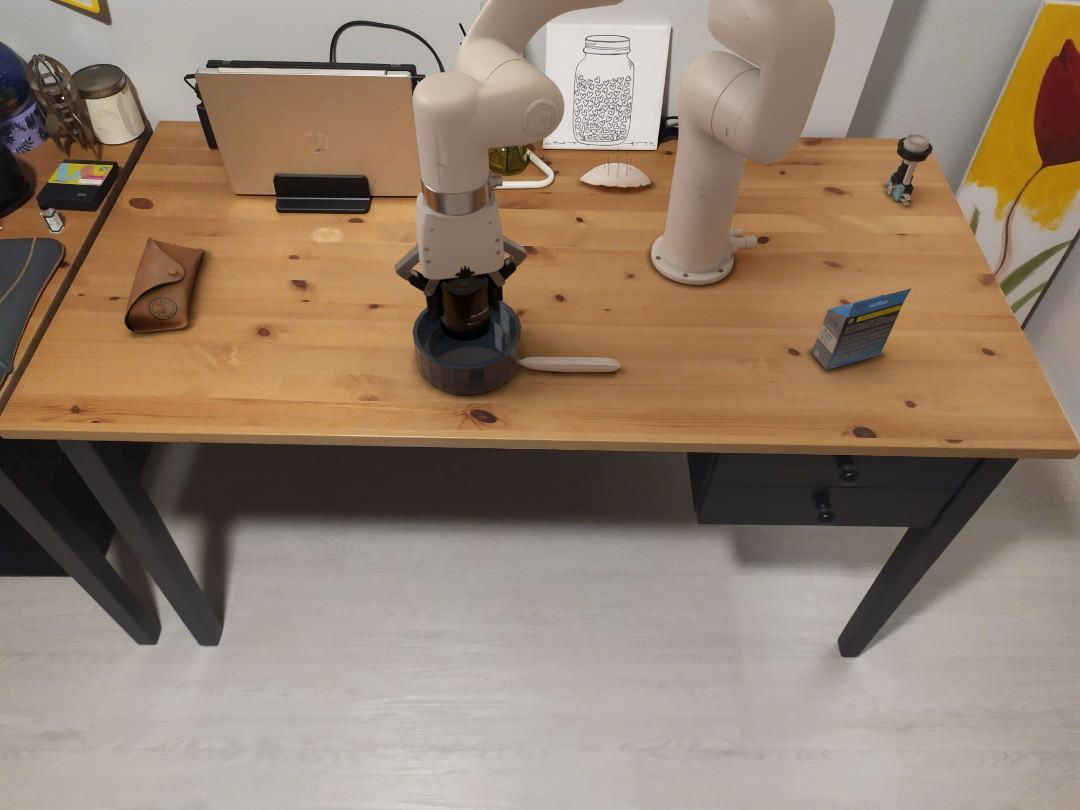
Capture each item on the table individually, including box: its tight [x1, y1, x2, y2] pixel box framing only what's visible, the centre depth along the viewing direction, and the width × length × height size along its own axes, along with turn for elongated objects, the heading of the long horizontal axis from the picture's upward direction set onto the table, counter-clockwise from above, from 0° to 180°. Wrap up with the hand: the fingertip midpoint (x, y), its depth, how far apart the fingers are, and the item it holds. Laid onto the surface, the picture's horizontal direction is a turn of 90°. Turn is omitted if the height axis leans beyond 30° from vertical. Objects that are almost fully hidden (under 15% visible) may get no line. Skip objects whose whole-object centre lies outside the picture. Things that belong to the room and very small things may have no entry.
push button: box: [886, 133, 934, 206], centre depth 133 cm, size 7×5×10 cm
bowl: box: [412, 300, 523, 395], centre depth 109 cm, size 14×14×6 cm
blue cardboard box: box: [811, 287, 912, 371], centre depth 107 cm, size 9×4×12 cm, turn 110°
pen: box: [519, 356, 621, 373], centre depth 109 cm, size 2×14×2 cm, turn 90°
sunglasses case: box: [123, 236, 205, 334], centre depth 118 cm, size 18×7×7 cm
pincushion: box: [579, 146, 651, 189], centre depth 136 cm, size 12×6×6 cm, turn 87°
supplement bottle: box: [436, 265, 492, 342], centre depth 101 cm, size 7×7×12 cm
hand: (465, 307), depth 104 cm, fingers closed on supplement bottle, 6 cm apart
